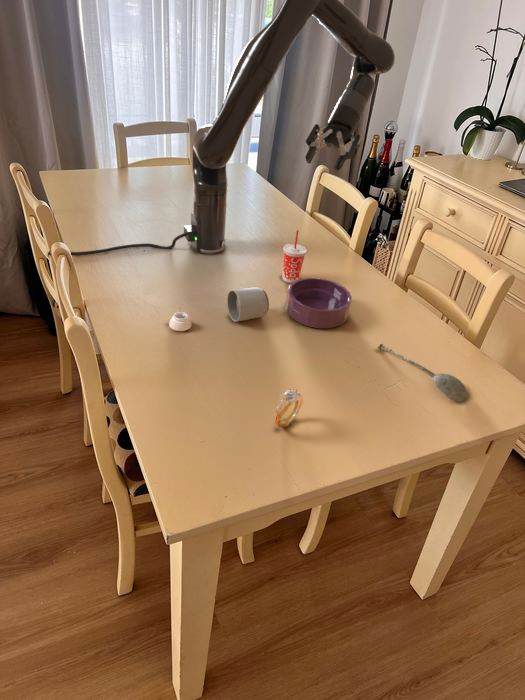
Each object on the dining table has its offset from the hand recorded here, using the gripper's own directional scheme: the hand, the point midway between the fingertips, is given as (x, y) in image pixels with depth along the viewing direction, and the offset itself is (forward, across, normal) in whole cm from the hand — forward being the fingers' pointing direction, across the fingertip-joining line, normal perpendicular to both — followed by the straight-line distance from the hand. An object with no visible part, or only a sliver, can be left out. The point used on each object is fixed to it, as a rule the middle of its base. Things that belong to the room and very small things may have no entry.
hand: (321, 165), depth 137 cm
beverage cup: (+30, +4, +7) cm, 31 cm away
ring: (+64, +32, -28) cm, 77 cm away
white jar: (+56, -4, -20) cm, 59 cm away
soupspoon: (+42, +47, -5) cm, 63 cm away
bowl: (+37, +17, -1) cm, 41 cm away
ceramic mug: (+46, +4, -10) cm, 47 cm away
